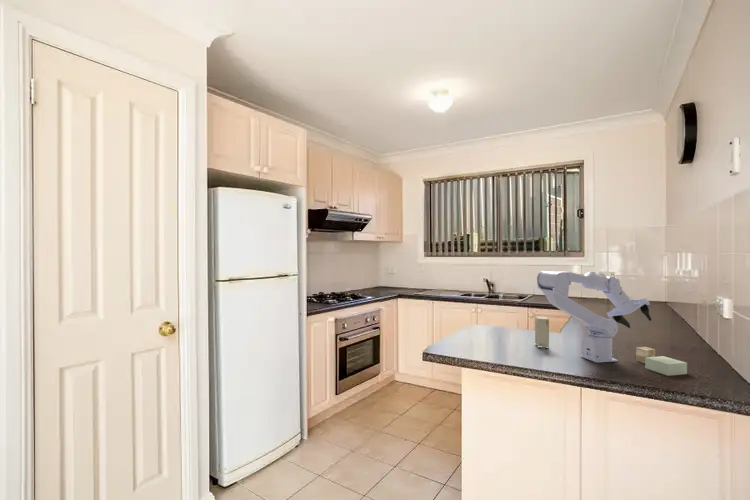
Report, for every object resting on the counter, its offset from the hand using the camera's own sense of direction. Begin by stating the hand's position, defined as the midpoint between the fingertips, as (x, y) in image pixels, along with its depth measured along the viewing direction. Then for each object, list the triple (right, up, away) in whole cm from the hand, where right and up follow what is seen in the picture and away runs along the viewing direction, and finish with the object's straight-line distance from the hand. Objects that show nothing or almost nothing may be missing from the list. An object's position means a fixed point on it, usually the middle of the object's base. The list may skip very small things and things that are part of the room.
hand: (639, 322), depth 149 cm
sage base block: (-4, -13, -19) cm, 23 cm away
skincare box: (-33, -13, +11) cm, 37 cm away
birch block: (-4, -13, -8) cm, 16 cm away
